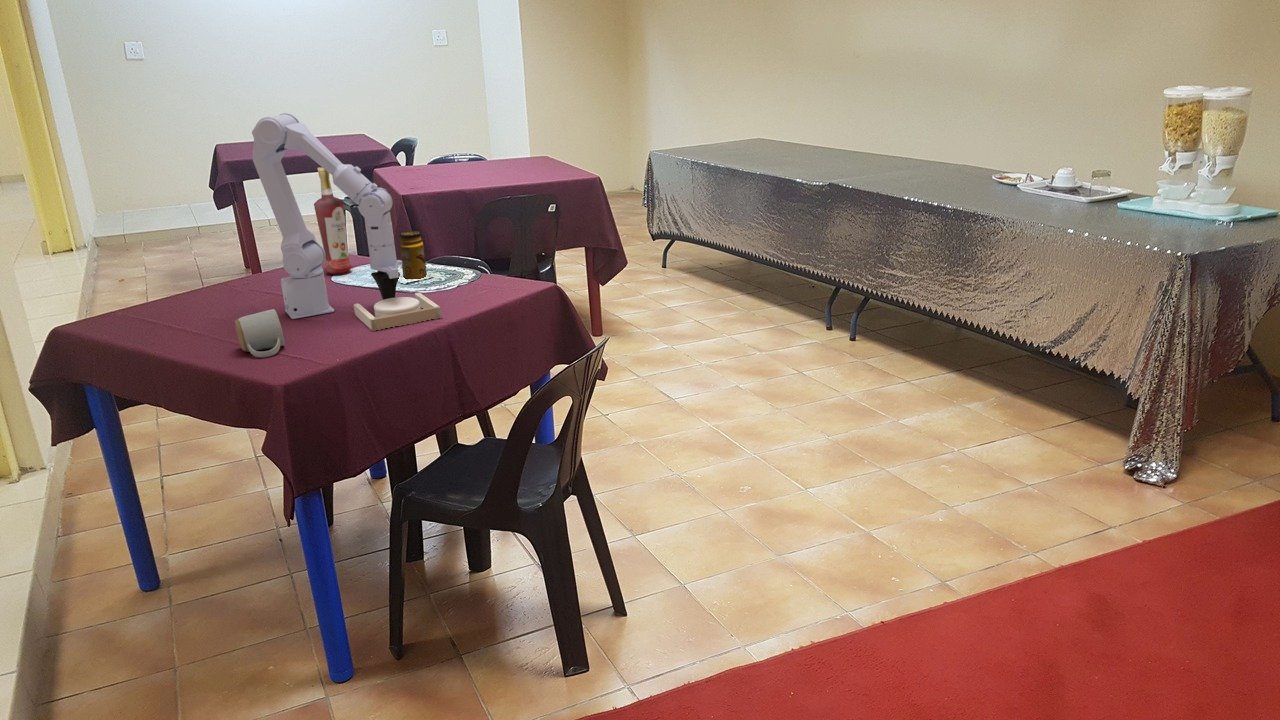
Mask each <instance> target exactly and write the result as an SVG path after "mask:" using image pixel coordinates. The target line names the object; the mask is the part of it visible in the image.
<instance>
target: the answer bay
mask: <svg viewBox="0 0 1280 720" xmlns="http://www.w3.org/2000/svg"><path fill="white" fill-rule="evenodd" d="M414 298H415V299H417V300H419V302H420V304H419V306H420V310H415V311H410V312H404V313H399V314H394V315H388V316H383V317H378V318H375V316H374V315H373V314H371V312H370V311H368V310H367V309H366V308H365V307H363V305H361V304H360V303H354V304H353V309H354V315H355V316H356V317H357V318H358V319H359V320H360V321H361V322H362V323H363V324H364V325H366V327H367V328H369V330H371V331H372V332H376V330H378V331H381V329H383V330H386V329H385V328H388V329H391V328H390V327H393V328H396V327H395V326H399V327H402V326H401V325H404V326H407V324H409V325H414V324H418V323H417V322H419V323H422V322H421V321H424V322H427V321H426V320H429V321H432V320H431V319H435V320H437V319H436V318H440V317H442V318H443V314H442V307H441V306H440V305H438V304H436V303H435V302H434V301H432V300H431V299H429V298H428V297H426V296H425V295H424V294H422V293H421V292H415V293H414ZM422 308H423V309H422ZM440 319H441V318H440ZM413 323H414V324H413Z"/></svg>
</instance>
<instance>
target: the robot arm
mask: <svg viewBox="0 0 1280 720" xmlns="http://www.w3.org/2000/svg"><path fill="white" fill-rule="evenodd" d="M251 134H252V137H253V145H252V161H253V165H254V167H255V170H256V173H257V174H258V177H259V180H260V182H261V185H262V188H263V189H264V192H265V195H266V198H267V200H268V202H269V205H270V208H271V210H272V213H273V215H274V218H275V220H276V223H277V225H278V228H279V230H280V232H281V235H282V239H281V244H280V250H281V252H282V266H283V268H284V270H285V272H286V273H287V274H289V276H287V277H282V278H281V279H280V287H281V293H282V297H283V304H284V309H285V311H284V312H285V313H286V314H287V315H288V316H289V318H290V319H291V320H296V319H299V318H300V319H301V318H306V317H312V316H317V315H323V314H330V313H334V312H335V309H334V308H333V306H331V305H330V304H329V297H328V292H327V285H326V280H325V279H326V278H325V273H324V268H323V265H324V262H326V260H325V257H326V256H325V251H324V249H323V245H321V244H320V243H319V242H318V241H317V239H316V237H315V235H314V233H313V232H311V231H310V230H309V229H308V228H307V226H306V223H305V221H304V218H303V215H302V213H301V211H300V208H299V206H298V203H297V200H296V198H295V195H294V193H293V189H292V187H291V184H290V182H289V179H288V177H287V174H286V171H285V169H284V166H283V163H282V159H283V157H284V156H285V154H286V152H287V150H293V151H301V152H303V153H304V154H305V155H307V156H308V157H309V158H310V159H311V160H313V161H314V162H315V163H316V164H318V165H319V167H323V168H324V169H325V170H326V171H328V172H329V175H331V177H332V182H333V185H335V187H337V188H338V189H339V190H340V191H341V192H343V193H344V194H345V195H346V196H347V197H348V198H349V199H350V200H351V201H352V202H354V203H355V204H356V205H358V206H357V209H358V212H359V214H360V215H361V216H363V219H364V223H365V224H364V225H365V226H364V227H365V232H366V238H367V246H368V247H367V248H368V254H369V261H370V264H369V267H370V269H371V270H373V272H371V273H370V275H371V277H372V278H373V280H374V281H375V283H376V285H377V287H378V290H379V293H380V295H381V299H382V300H385V299H389V298H395V297H396V290H397V285H398V283H399V282H398V279H399V277H401V274H400V272H399V269H398V268H399V266H402V261H401V259H397V253H396V246H395V244H396V243H395V238H394V231H393V222H392V218H391V217H392V216H391V215H392V214H391V212H390V211H391V209H392V207H393V203H394V202H393V198H392V195H391V194H390V193H389V192H388V190H387V189H385V188H383V187H378V185H377V184H376V183H375V182H372V181H370V180H369V179H368V177H366V176H365V175H364V174H363V173H361V171H362V168H360V167H359V166H354V165H353V164H351V163H350V164H349V163H348V164H344V163H343V162H341V160H339V158H337V156H335V155H334V153H333V152H331V151H330V150H329V148H328V147H326V146H325V145H324V144H323V143H322V142H321V140H319V139H318V137H316V136H315V135H314V134H313V133H312V132H311V131H310V129H309V128H308V126H307V125H306V124H305V123H303V122H301V121H300V120H299V119H298V118H297V117H296V116H295V115H293V114H291V113H288V112H287V113H286V112H284V113H280V114H277V115H273V116H265V117H261V118H260V119H259V120H258V121H257V122H256V124H255V126H254V128H253V129H252V130H251Z"/></svg>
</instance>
